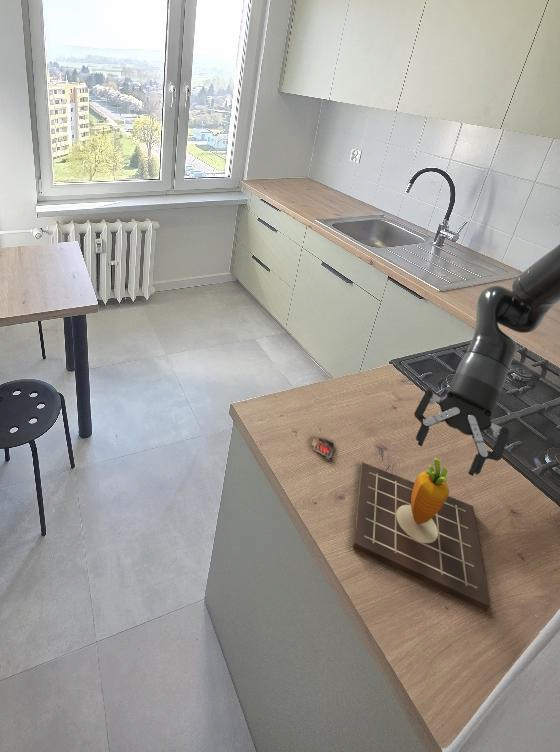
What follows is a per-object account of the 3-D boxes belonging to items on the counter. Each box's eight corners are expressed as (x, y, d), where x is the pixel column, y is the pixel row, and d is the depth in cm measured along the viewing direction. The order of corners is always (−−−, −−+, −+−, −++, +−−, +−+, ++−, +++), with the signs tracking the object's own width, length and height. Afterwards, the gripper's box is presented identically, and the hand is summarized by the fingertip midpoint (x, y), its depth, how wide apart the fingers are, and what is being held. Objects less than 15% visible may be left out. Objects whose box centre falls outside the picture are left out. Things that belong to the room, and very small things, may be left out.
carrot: (429, 542, 73) (456, 485, 67) (399, 524, 76) (422, 467, 70) (433, 520, 77) (459, 463, 71) (404, 503, 80) (427, 448, 74)
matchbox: (333, 442, 94) (334, 440, 93) (333, 461, 89) (334, 459, 89) (312, 436, 95) (312, 434, 95) (311, 454, 91) (311, 452, 90)
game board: (470, 510, 81) (473, 505, 80) (486, 611, 66) (490, 606, 65) (360, 466, 88) (362, 461, 88) (352, 547, 74) (354, 542, 73)
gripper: (437, 359, 82) (403, 434, 79) (526, 398, 74) (492, 485, 71) (436, 367, 88) (404, 438, 85) (519, 405, 79) (487, 485, 76)
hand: (444, 459), depth 78 cm, fingers open, 8 cm apart
